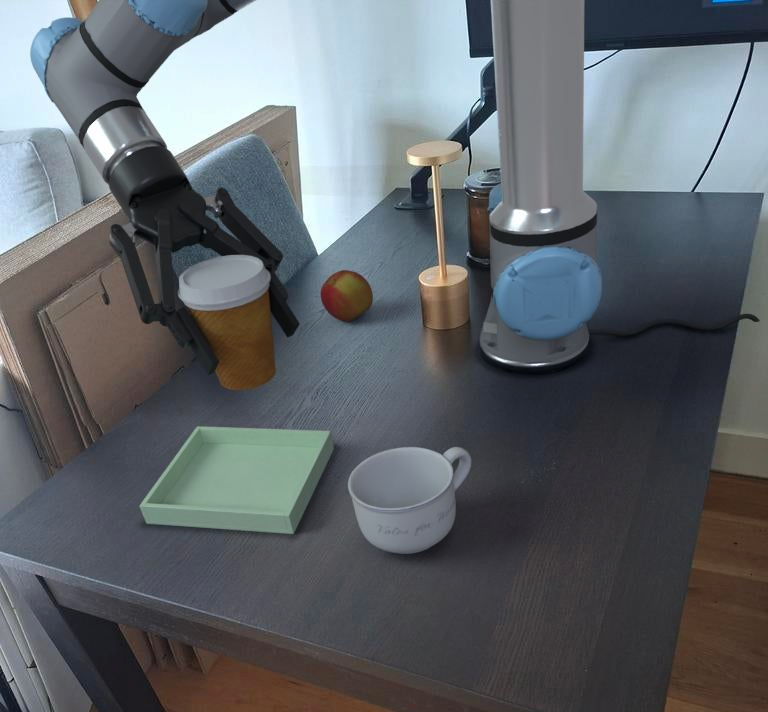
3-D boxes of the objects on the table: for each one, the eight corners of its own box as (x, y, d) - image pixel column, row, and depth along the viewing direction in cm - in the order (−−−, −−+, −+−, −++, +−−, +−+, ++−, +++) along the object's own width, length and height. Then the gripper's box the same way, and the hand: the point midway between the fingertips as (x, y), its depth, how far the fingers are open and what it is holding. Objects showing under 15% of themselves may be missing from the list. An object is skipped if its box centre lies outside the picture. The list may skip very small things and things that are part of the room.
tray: (334, 448, 95) (330, 430, 93) (293, 534, 83) (288, 515, 82) (202, 443, 100) (196, 426, 98) (146, 523, 88) (138, 505, 86)
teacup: (381, 582, 76) (371, 522, 71) (343, 522, 84) (331, 463, 79) (503, 535, 79) (502, 474, 74) (455, 481, 87) (451, 422, 82)
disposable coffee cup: (279, 347, 89) (256, 245, 81) (300, 383, 81) (277, 276, 74) (199, 368, 87) (168, 267, 79) (213, 407, 80) (181, 300, 72)
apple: (339, 307, 127) (331, 260, 122) (382, 311, 124) (376, 263, 119) (317, 327, 122) (308, 280, 117) (362, 332, 119) (355, 283, 114)
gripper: (221, 162, 87) (326, 326, 88) (38, 221, 78) (157, 406, 78) (234, 116, 81) (348, 293, 81) (36, 175, 71) (166, 377, 71)
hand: (254, 349), depth 79 cm, fingers closed on disposable coffee cup, 9 cm apart
